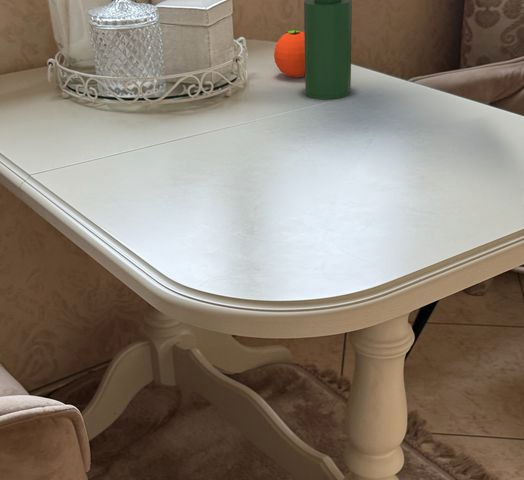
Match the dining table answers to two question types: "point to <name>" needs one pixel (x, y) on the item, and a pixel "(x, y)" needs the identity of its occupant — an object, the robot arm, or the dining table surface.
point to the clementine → (291, 53)
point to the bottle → (327, 48)
